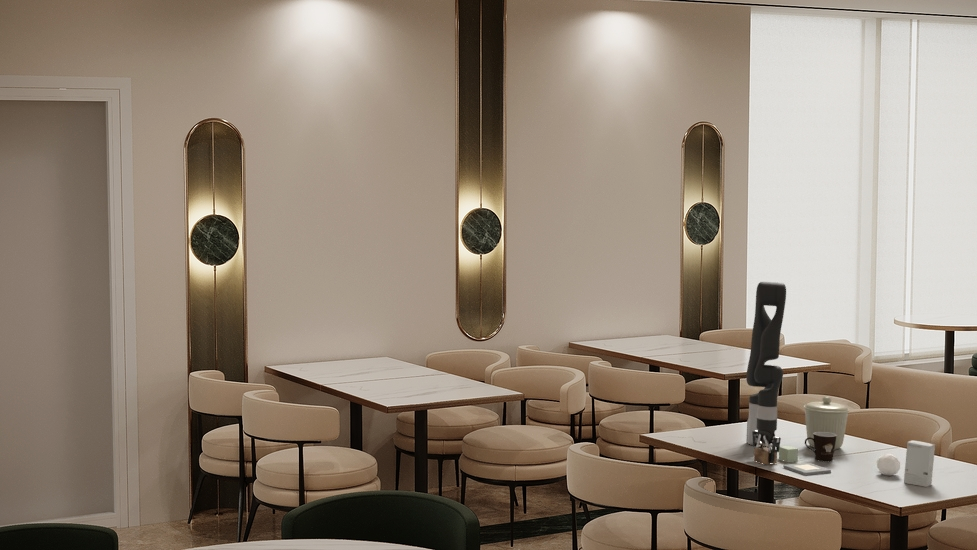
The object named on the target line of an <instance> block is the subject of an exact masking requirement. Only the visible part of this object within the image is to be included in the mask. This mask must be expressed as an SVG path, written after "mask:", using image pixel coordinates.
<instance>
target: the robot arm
mask: <svg viewBox="0 0 977 550" xmlns="http://www.w3.org/2000/svg"><path fill="white" fill-rule="evenodd" d="M755 292H756V293H755V308H754V309H755V310H754V320H753V326H752V334H751V340H750V341H751V342H750V343H751V344H750V353H749V359H748V364H747V370H746V375H745V376H746V380H745V381H746V384H747V385H748V386H750V387H759V388H764V389H760V390H759V391H758V392H756V393H754V394H750V395H749V400H748V419H747V421H746V438H745V439H746V442H745V443H747V442H748V443H747V444H748V445H749V444H750V446H753V447H754V448H764V447H763V446H766V447H767V448H768V451H769V456H768V462H769V463H774V459H775V453H776V452H777V453H779V448H780V447H781V439H782V438H781V437H780V436H776V433H775V432H776V431H777V429H778V395H779V394H778V393H779V389H780V386H781V383H782V381H783V378H784V371H783V368H782V367H781V366H779V365H771V364H766V363H767V362H768V361H773V360H777V359H778V358H780V357H779V356H780V343H781V342H780V338H781V331H782V326H783V320H784V316H785V315H784V313H785V308H786V307H785V306H786V301H787V287H786V283H784V282H776V281H775V282H774V281H773V282H772V281H760V282H759V283H758V284H757V286H756V291H755ZM765 306H767V307H768V306H770V307H776V309H775V312H774V315H773V317H772V319H771V318H770V317H769V315H768V313H767V310H766V307H765ZM766 447H765V448H766ZM771 449H772V450H771Z"/></svg>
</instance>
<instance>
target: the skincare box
mask: <svg viewBox="0 0 977 550" xmlns="http://www.w3.org/2000/svg"><path fill="white" fill-rule="evenodd" d="M935 448H936V444H934V443H929V442H924V441H919V440H909V441H907V445H906V452H905V453H906V454H905V466H904V475H903V483H904V484H908V485H912V486H913V485H914V486H919V487H923V488H924V487H926V488H927V487H930V486H932V482H933V470H934V464H935V463H934V461H935V452H936V451H935V450H936V449H935Z"/></svg>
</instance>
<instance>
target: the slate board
mask: <svg viewBox="0 0 977 550" xmlns="http://www.w3.org/2000/svg"><path fill="white" fill-rule="evenodd" d="M783 467H784V469H785V468H786V469H785V470H788V469H789V471H792V472H794V473H797V474H800V475H802V476H813V475H814V476H815V475H821V474H822V475H823V474H831V473H832V469H830V468H829V469H828V468H826V467H823V466H820V465H817V464H813V463H811V462H801V463H791V464H790V463H789V464H784V465H783V466H782V468H783Z"/></svg>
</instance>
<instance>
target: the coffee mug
mask: <svg viewBox="0 0 977 550" xmlns="http://www.w3.org/2000/svg"><path fill="white" fill-rule="evenodd" d="M813 436H814V439H813V438H811V437H809V438H807V437H806V438H805V440H804V446H805V447H806V448H808V450H810V451H812V452H813V453H814V456H815V457H814V459H815V461H818V460H819V462H823V461H824V462H825V463H829V462H830V461H831V462H833V460H834V456H835V455H834V454H835V450H836V449H835V443H836V436H837V435H836V434H833V433H828V432H815V433H813ZM808 439H812V440H813V441H814V447H813V448H814V449H812V448H811V447H810V446H808V444H807V442H808ZM834 449H835V450H834ZM828 461H829V462H828ZM824 462H823V463H824Z"/></svg>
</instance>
